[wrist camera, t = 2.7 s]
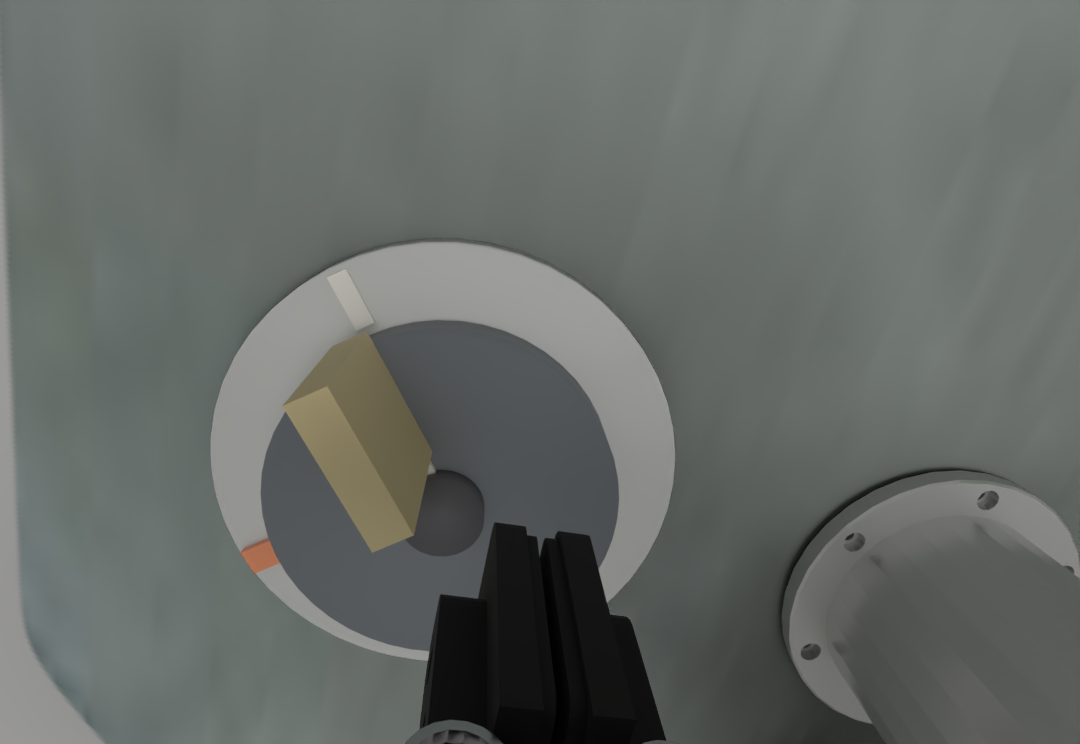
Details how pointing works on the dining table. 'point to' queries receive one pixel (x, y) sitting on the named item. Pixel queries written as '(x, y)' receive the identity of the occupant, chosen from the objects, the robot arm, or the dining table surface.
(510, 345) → the dial
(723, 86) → the dining table surface
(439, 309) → the plate
